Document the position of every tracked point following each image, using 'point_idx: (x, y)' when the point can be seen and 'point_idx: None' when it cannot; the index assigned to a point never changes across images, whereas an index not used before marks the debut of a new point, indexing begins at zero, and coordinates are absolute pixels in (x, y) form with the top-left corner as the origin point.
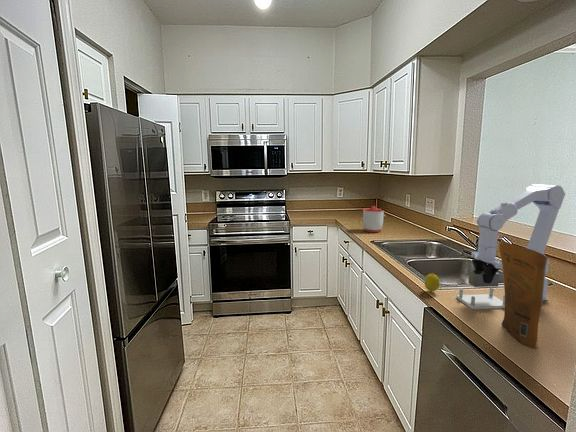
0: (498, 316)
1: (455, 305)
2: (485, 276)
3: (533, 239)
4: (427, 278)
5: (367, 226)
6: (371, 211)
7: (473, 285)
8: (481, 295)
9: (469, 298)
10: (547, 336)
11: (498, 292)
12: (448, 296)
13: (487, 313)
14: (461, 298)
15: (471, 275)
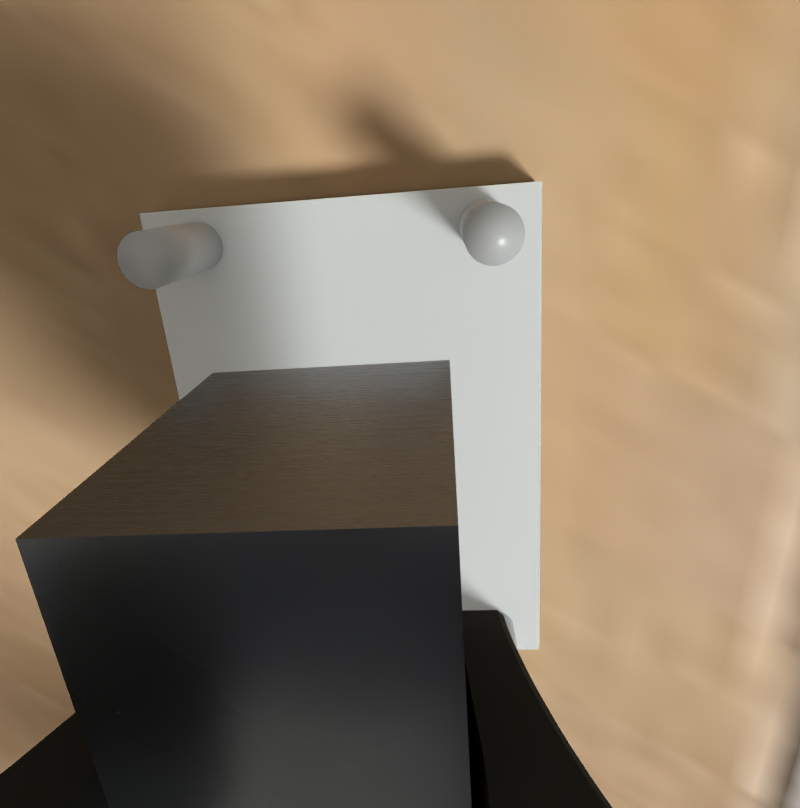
0: (15, 414)
1: (255, 13)
2: (68, 731)
3: None
4: None
5: None
6: None
7: (249, 376)
8: (507, 528)
9: (412, 319)
10: None
11: (638, 757)
12: (591, 69)
13: (68, 337)
14: (411, 195)
15: (308, 459)
